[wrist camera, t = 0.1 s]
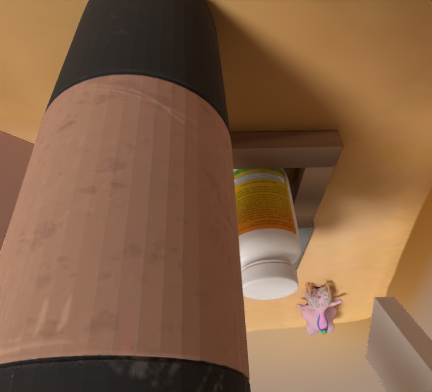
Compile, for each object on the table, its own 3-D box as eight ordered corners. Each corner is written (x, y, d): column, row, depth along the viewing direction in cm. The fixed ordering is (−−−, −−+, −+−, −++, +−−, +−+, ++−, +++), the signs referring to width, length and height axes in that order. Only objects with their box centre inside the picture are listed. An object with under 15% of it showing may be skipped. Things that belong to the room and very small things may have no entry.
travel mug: (249, 26, 21) (330, 490, 9) (168, 110, 25) (150, 490, 13) (126, -80, 16) (-32, 532, 5) (55, 44, 21) (-114, 512, 9)
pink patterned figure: (291, 273, 51) (298, 324, 61) (298, 314, 47) (304, 361, 57) (339, 268, 50) (337, 320, 61) (350, 309, 46) (346, 358, 56)
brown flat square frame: (185, 133, 27) (185, 149, 26) (338, 130, 27) (343, 146, 26) (191, 216, 36) (191, 231, 35) (306, 213, 36) (309, 228, 35)
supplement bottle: (212, 170, 30) (217, 284, 25) (275, 149, 29) (297, 266, 23) (237, 204, 34) (247, 308, 29) (294, 187, 33) (317, 295, 27)
